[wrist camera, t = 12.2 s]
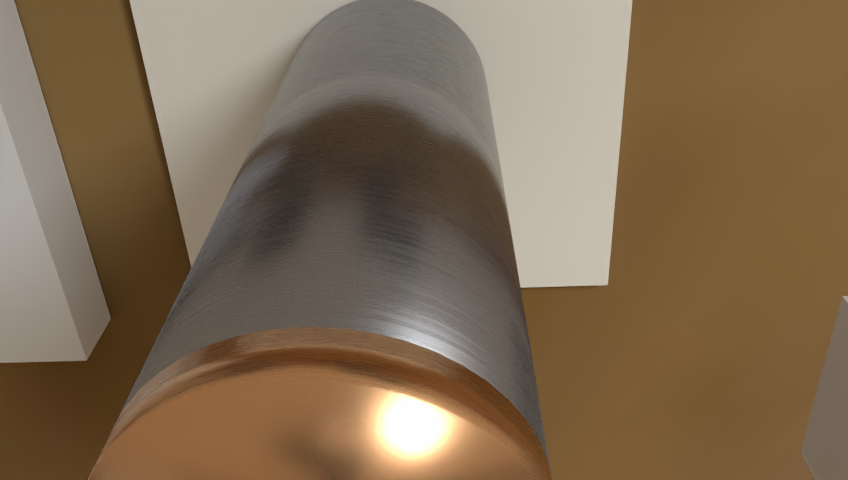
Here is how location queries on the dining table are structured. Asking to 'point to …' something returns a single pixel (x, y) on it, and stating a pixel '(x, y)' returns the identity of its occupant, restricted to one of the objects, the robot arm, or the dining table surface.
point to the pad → (508, 93)
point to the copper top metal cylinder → (351, 283)
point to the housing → (39, 224)
